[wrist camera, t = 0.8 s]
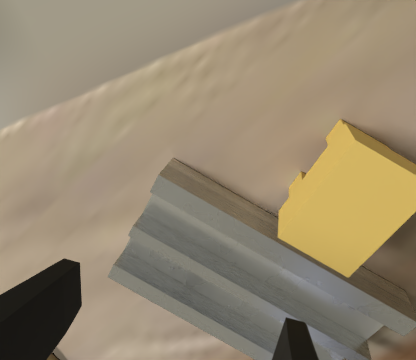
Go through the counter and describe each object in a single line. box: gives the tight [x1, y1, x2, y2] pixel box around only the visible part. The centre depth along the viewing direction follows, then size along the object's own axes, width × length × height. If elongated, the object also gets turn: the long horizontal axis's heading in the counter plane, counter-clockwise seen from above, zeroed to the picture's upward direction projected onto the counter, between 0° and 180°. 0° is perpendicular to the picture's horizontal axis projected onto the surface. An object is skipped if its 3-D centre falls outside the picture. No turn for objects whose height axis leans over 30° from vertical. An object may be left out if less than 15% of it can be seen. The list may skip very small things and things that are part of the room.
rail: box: [108, 158, 416, 360], centre depth 21 cm, size 16×8×2 cm, turn 63°
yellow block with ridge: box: [278, 119, 416, 278], centre depth 16 cm, size 4×5×5 cm
